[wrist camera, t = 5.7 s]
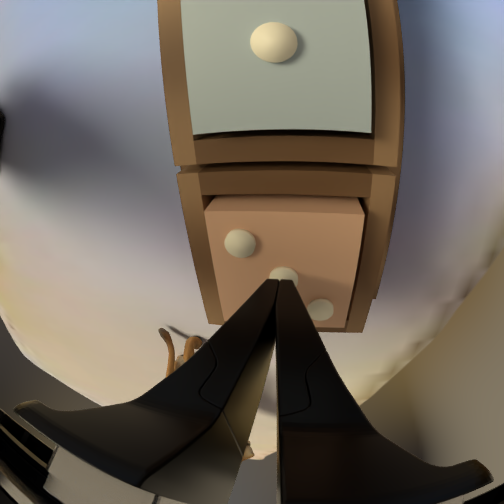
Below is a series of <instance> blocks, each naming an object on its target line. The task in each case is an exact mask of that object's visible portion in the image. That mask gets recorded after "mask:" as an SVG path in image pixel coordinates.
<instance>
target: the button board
mask: <svg viewBox="0 0 504 504" xmlns="http://www.w3.org/2000/svg"><path fill="white" fill-rule="evenodd" d="M157 3H158V24H159V39H160V52H161V64H162V74H163V84H164V93H165V101H166V109H167V117H168V124H169V131H170V138H171V145H172V151H173V158H174V164H175V166H180V167H181V171H180V172H179V173H177V174H176V176H177V182H178V187H179V193H180V198H181V204H182V209H183V214H184V219H185V224H186V229H187V234H188V238H189V243H190V248H191V252H192V257H193V261H194V266H195V270H196V275H197V279H198V283H199V287H200V291H201V295H202V299H203V303H204V307H205V311H206V315H207V319H208V323H209V324H216V325H223V324H224V323H225V322H226V321H224V318H223V313H222V308H221V303H220V298H219V293H218V288H217V283H216V277H215V272H214V266H213V261H212V255H211V250H210V244H209V238H208V232H207V226H206V220H205V214H204V211H205V210H206V208H207V207H208V206H209V204H210V203H211V202H212V200H213V199H214V198H215V196H216V195H222V194H295V195H329V196H350V197H357V198H358V201H359V203H360V205H361V207H362V210H363V212H364V214H365V216H364V224H363V231H362V238H361V245H360V251H359V258H358V264H357V269H356V275H355V280H354V285H353V290H352V295H351V300H350V305H349V309H348V314H347V318H346V322H345V326H344V328H329V327H316V329H317V331H318V332H351V333H362V332H363V329H364V326H365V323H366V319H367V316H368V313H369V309H370V306H371V302H372V299H376V296H377V293H378V289H379V285H380V281H381V277H382V273H383V269H384V265H385V261H386V256H387V252H388V247H389V242H390V237H391V232H392V227H393V221H394V215H395V209H396V203H397V196H398V189H399V181H400V172H401V162H402V151H403V137H404V116H405V76H404V55H403V43H402V32H401V24H400V16H399V9H398V3H397V0H364V4H365V11H366V19H367V28H368V38H369V50H370V66H371V133H366V132H354V131H339V130H316V129H266V130H243V131H227V132H215V133H204V134H195V135H193V131H192V123H191V114H190V106H189V97H188V87H187V78H186V67H185V56H184V44H183V31H182V17H181V0H157Z"/></svg>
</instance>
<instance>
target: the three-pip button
mask: <svg viewBox="0 0 504 504" xmlns="http://www.w3.org/2000/svg"><path fill="white" fill-rule="evenodd" d="M204 214H205V220H206V226H207V232H208V238H209V244H210V250H211V255H212V261H213V266H214V272H215V277H216V283H217V288H218V293H219V298H220V303H221V308H222V313H223V318H224V321H227V320H228V319H229V318H230V317H231V316H232V315H233V314H234V313H235V312H236V311H237V310H238V309H239V308H240V307H241V306H242V304H243V303H244V302H245V301H246V300H247V299H248V298H249V297H250V296H251V295H252V294H253V293H254V292H255V291H256V290H257V289H258V287H259V286H260V285H261V284H262V283H263V282H264V281H265V280H266V279H279V281H280V280H281V279H291V280H293V282H294V284H295V286H296V288H297V290H298V292H299V294H300V296H301V298H302V300H303V302H304V304H305V306H306V308H307V311H308V313H309V315H310V317H311V319H312V321H313V323H314V325H315V327H329V328H344V326H345V322H346V318H347V314H348V309H349V305H350V300H351V295H352V290H353V285H354V280H355V275H356V269H357V264H358V258H359V251H360V245H361V238H362V231H363V224H364V216H365V214H364V212H363V210H362V207H361V205H360V203H359V201H358V198H357V197H350V196H329V195H295V194H222V195H216V196H215V198H214V199H213V200H212V202H211V203H210V204H209V206H208V207H207V208H206V210H205V211H204Z"/></svg>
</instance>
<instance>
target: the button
mask: <svg viewBox="0 0 504 504" xmlns="http://www.w3.org/2000/svg"><path fill="white" fill-rule="evenodd" d="M181 17H182V31H183V44H184V56H185V67H186V78H187V87H188V97H189V106H190V114H191V123H192V131H193V135H195V134H204V133H215V132H227V131H243V130H266V129H316V130H339V131H354V132H366V133H371V66H370V50H369V38H368V28H367V19H366V11H365V4H364V0H181Z"/></svg>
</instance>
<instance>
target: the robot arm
mask: <svg viewBox="0 0 504 504" xmlns="http://www.w3.org/2000/svg"><path fill="white" fill-rule="evenodd" d="M4 121H5V120H4V116H3V115H2V113H1V112H0V142H1V137H2V132H3V127H4ZM275 341H276V390H277V504H504V483H503V484H501V485H499V486H497V487H495V488H493V489H491V490H489V491H487V492H485V493H483V494H480V495H478V496H476V497H474V498H471V499H469V500H467V501H464V498H463V497H464V494H467V493H469V492H472V491H474V490H476V489H478V488H481V487H483V486H485V485H487V484H489V483H491V482H493V480H494V479H493V476H492V474H491V473H490V471H489V470H488V469H487V468H486V467H485V466H484V465H483V464H481V463H480V462H479V461H478V460H475V459H474V460H469V461H466V462H463V463H460V464H456V465H453V466H449V467H439V466H435V465H431V464H429V463H426V462H424V461H423V460H421V459H420V458H418V457H416V456H415V455H413V454H411V453H410V452H408V451H406V450H405V449H403V448H402V447H400V446H398V445H397V444H395V443H393V442H392V441H390V440H389V439H387V438H386V437H384V436H383V435H382V434H380V433H379V432H378V431H377V430H376V429H375V428H374V427H373V426H372V424H371V423H370V422H369V421H368V419H367V418H366V416H365V415H364V413H363V412H362V410H361V408H360V407H359V405H358V404H357V402H356V401H355V399H354V398H353V396H352V395H351V393H350V392H349V390H348V389H347V387H346V386H345V384H344V382H343V381H342V379H341V377H340V376H339V374H338V372H337V370H336V368H335V367H334V365H333V363H332V361H331V359H330V356H329V354H328V352H327V351H326V348H325V346H324V344H323V342H322V340H321V338H320V336H319V333H318V331H317V329H316V327H315V325H314V323H313V321H312V319H311V317H310V315H309V313H308V311H307V308H306V306H305V304H304V302H303V300H302V298H301V296H300V294H299V292H298V290H297V288H296V286H295V284H294V282H293V280H291V279H281V280H280V281H279V279H266V280H265V281H264V282H263V283H262V284H261V285H260V286H259V287H258V289H257V290H256V291H255V292H254V293H253V294H252V295H251V296H250V297H249V298H248V299H247V300H246V301H245V302H244V303H243V304H242V306H241V307H240V308H239V309H238V310H237V311H236V312H235V313H234V314H233V315H232V316H231V317H230V318H229V319H228V320H227V321H226V322H225V323H224V324H223V325H222V326H221V327H220V328H219V329H218V331H217V332H216V333H215V334H214V335H213V336H212V337H211V338H210V339H209V340H208V342H206V343H205V344H204V345H203V346H202V347H201V348H200V349H199V350H198V351H197V352H196V353H195V354H194V355H192V356H191V357H190V358H189V359H188V360H187V361H186V362H185V363H183V364H182V365H181V366H180V367H179V368H177V369H176V370H175V371H174V372H172V373H171V374H170V375H169V376H167V377H166V378H165V379H163V380H162V381H161V382H159V383H158V384H157V385H155V386H154V387H153V388H152V389H150V390H149V391H148V392H146V393H145V394H143V395H142V396H140V397H138V398H136V399H134V400H132V401H129V402H126V403H121V404H115V405H109V406H103V407H97V408H89V409H82V410H74V411H59V410H55V409H51V408H49V407H47V406H46V405H44V404H43V403H41V402H40V401H38V400H32V401H27V402H24V403H21V404H19V405H17V406H16V407H15V408H13V411H14V412H15V413H16V414H17V415H18V416H19V417H21V418H22V419H23V420H24V421H25V422H27V423H28V424H29V425H31V426H32V427H33V428H34V429H36V430H37V431H38V432H40V433H41V434H42V435H44V436H45V437H47V438H48V439H49V440H51V441H52V442H54V443H55V444H56V446H55V448H54V450H53V449H52V448H50V447H49V446H48V445H46V444H45V443H43V442H42V441H41V440H40V439H38V438H37V437H36V436H34V435H33V434H31V433H30V432H29V431H28V430H26V429H25V428H24V427H22V426H21V425H20V424H19V423H17V422H16V421H15V420H14V419H12V418H11V417H10V416H9V415H7V414H6V413H5V412H4V411H3V410H1V409H0V504H227V503H228V500H229V497H230V495H231V492H232V489H233V486H234V483H235V480H236V477H237V474H238V471H239V468H240V465H241V462H242V459H243V457H242V456H243V455H244V452H245V449H246V446H247V443H248V439H249V436H250V433H251V429H252V426H253V423H254V419H255V416H256V413H257V409H258V406H259V402H260V399H261V395H262V391H263V388H264V384H265V381H266V377H267V373H268V369H269V366H270V362H271V358H272V354H273V350H274V346H275Z"/></svg>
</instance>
